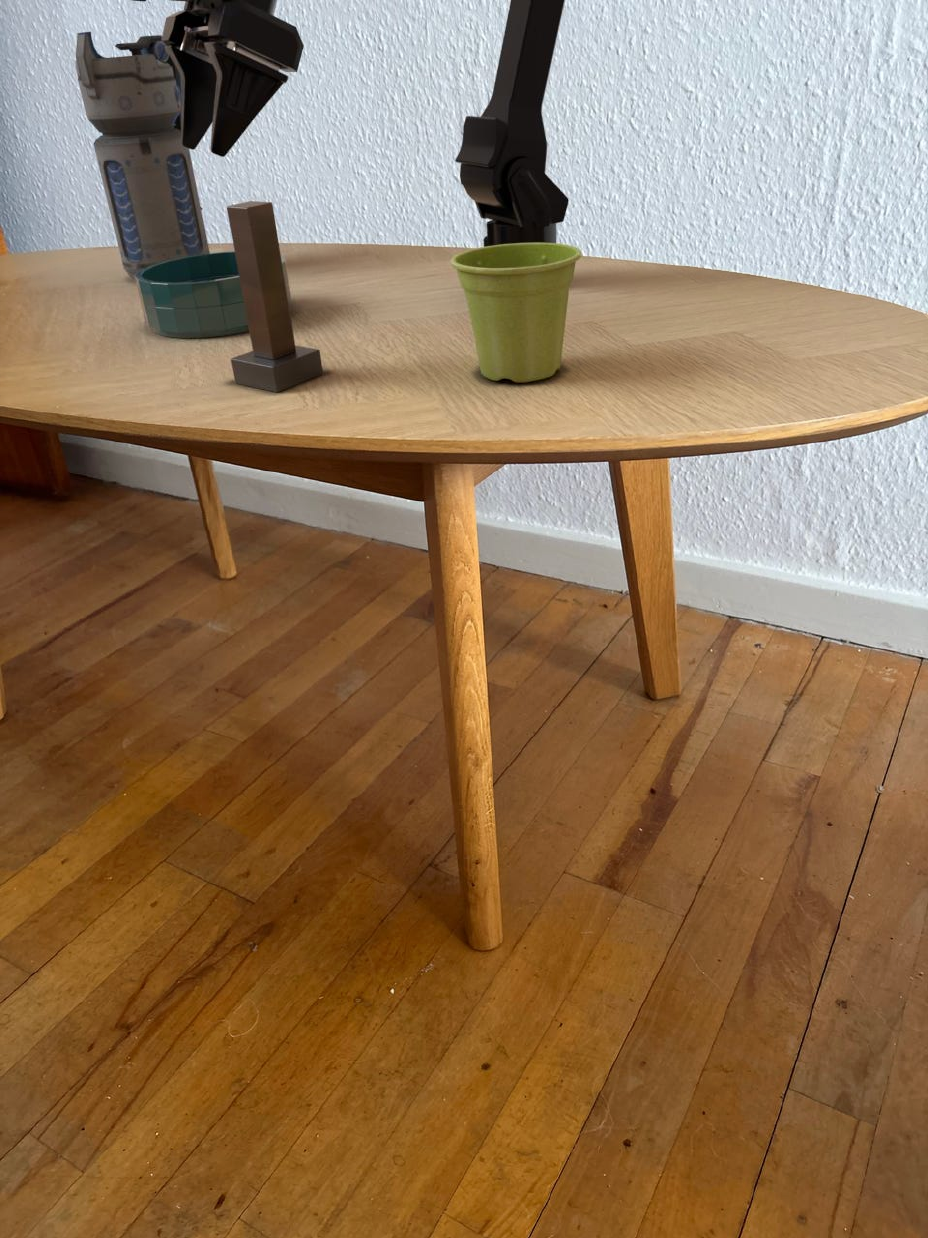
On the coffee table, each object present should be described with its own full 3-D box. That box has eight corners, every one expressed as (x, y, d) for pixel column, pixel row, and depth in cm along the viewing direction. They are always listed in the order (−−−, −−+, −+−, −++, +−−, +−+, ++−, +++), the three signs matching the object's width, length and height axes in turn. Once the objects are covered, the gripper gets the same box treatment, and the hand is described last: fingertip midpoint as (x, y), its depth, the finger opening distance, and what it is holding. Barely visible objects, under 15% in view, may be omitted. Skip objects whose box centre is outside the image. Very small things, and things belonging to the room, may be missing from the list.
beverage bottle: (243, 262, 118) (200, 24, 105) (166, 287, 109) (108, 29, 95) (182, 259, 123) (134, 30, 110) (103, 283, 113) (40, 35, 100)
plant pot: (441, 367, 76) (431, 253, 72) (546, 346, 79) (543, 235, 75) (490, 400, 69) (483, 275, 64) (604, 376, 72) (605, 254, 67)
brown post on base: (281, 365, 80) (252, 197, 73) (323, 374, 77) (297, 199, 70) (234, 383, 77) (200, 208, 70) (277, 392, 74) (245, 211, 67)
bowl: (321, 304, 97) (314, 252, 94) (230, 344, 87) (219, 286, 84) (214, 296, 103) (204, 247, 100) (116, 333, 93) (103, 279, 90)
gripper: (121, -99, 77) (80, 107, 82) (178, -138, 62) (125, 115, 67) (252, -30, 83) (207, 157, 88) (331, -52, 69) (272, 174, 74)
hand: (201, 150), depth 79 cm, fingers open, 9 cm apart
